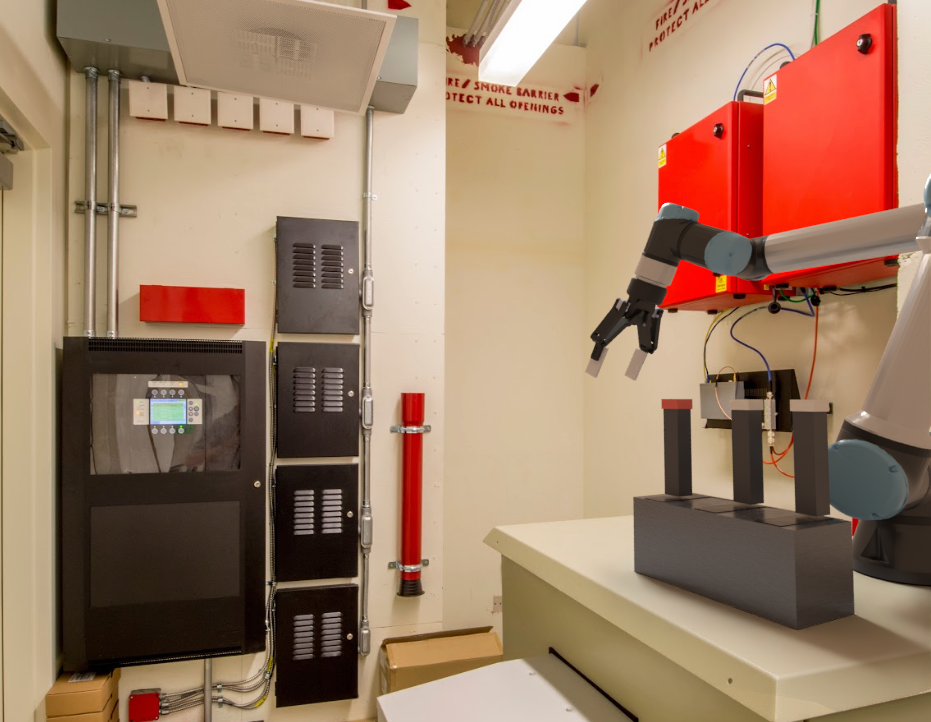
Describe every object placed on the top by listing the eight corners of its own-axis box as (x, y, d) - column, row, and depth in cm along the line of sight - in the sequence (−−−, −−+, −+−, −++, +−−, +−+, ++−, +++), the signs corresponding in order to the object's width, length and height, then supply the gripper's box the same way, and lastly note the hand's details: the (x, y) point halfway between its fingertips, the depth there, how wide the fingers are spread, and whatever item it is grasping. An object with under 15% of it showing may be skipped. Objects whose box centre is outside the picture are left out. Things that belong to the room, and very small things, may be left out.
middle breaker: (731, 501, 92) (729, 399, 93) (746, 499, 94) (743, 399, 95) (751, 505, 89) (748, 399, 90) (766, 503, 91) (763, 399, 92)
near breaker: (793, 512, 83) (789, 399, 84) (808, 510, 85) (805, 399, 86) (817, 517, 80) (813, 399, 81) (832, 514, 82) (828, 399, 83)
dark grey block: (634, 571, 98) (633, 496, 99) (686, 562, 104) (685, 491, 105) (796, 629, 74) (794, 529, 74) (854, 613, 79) (851, 520, 80)
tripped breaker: (662, 493, 99) (661, 399, 100) (677, 492, 101) (676, 399, 102) (679, 497, 96) (677, 399, 97) (694, 495, 98) (692, 399, 99)
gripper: (669, 284, 132) (632, 371, 138) (598, 265, 116) (560, 365, 122) (698, 295, 127) (658, 386, 133) (628, 277, 111) (586, 381, 117)
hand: (611, 376), depth 128 cm, fingers open, 13 cm apart
